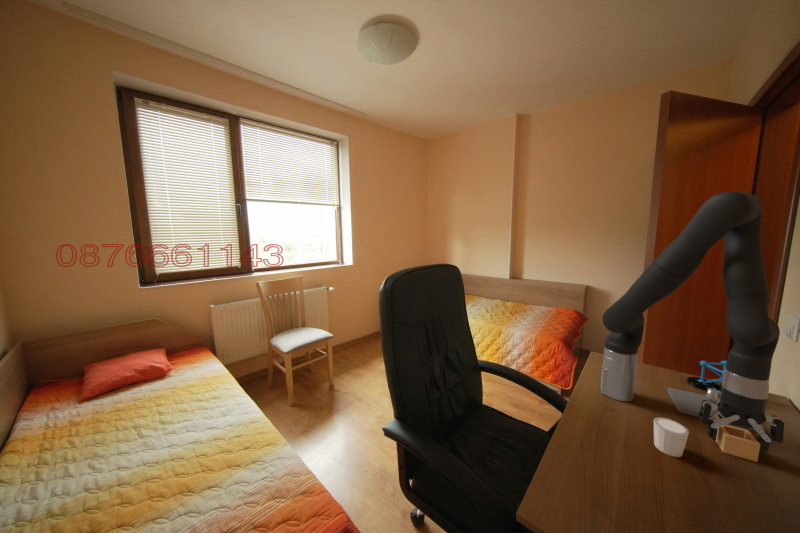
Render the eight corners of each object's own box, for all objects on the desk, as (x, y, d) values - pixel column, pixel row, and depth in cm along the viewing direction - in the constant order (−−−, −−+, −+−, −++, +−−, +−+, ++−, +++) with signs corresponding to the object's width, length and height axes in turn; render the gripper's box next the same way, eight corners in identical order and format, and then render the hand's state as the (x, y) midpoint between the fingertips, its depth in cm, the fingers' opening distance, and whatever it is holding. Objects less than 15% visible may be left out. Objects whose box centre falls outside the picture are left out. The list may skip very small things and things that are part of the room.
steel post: (706, 406, 90) (709, 390, 89) (704, 402, 92) (706, 387, 91) (717, 408, 88) (719, 393, 88) (714, 404, 90) (716, 389, 90)
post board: (678, 412, 89) (679, 408, 89) (667, 390, 101) (667, 387, 101) (764, 433, 80) (765, 428, 79) (740, 407, 91) (741, 403, 91)
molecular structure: (694, 383, 105) (698, 359, 104) (722, 384, 105) (725, 359, 104) (724, 399, 95) (728, 373, 94) (754, 400, 95) (758, 373, 94)
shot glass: (676, 442, 77) (679, 419, 76) (692, 461, 71) (696, 437, 70) (646, 436, 79) (648, 414, 78) (659, 455, 73) (662, 431, 72)
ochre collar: (722, 452, 73) (725, 435, 73) (713, 437, 78) (716, 422, 78) (757, 462, 70) (760, 444, 69) (745, 446, 75) (748, 430, 74)
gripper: (710, 388, 73) (702, 443, 75) (797, 406, 65) (786, 466, 67) (700, 375, 79) (693, 426, 81) (778, 390, 71) (768, 446, 73)
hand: (735, 444), depth 74 cm, fingers open, 8 cm apart
